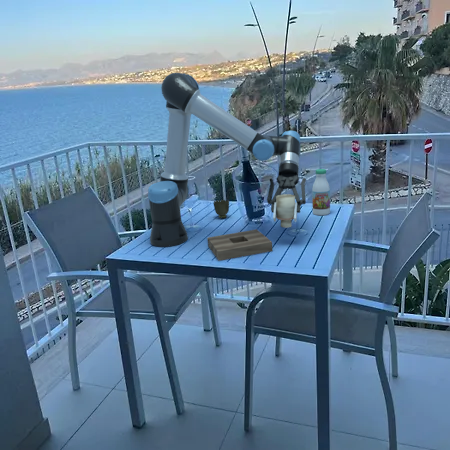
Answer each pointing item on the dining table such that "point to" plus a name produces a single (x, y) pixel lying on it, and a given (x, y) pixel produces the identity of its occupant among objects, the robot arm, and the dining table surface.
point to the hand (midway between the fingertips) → (284, 219)
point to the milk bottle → (321, 194)
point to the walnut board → (239, 244)
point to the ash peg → (285, 209)
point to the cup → (221, 208)
